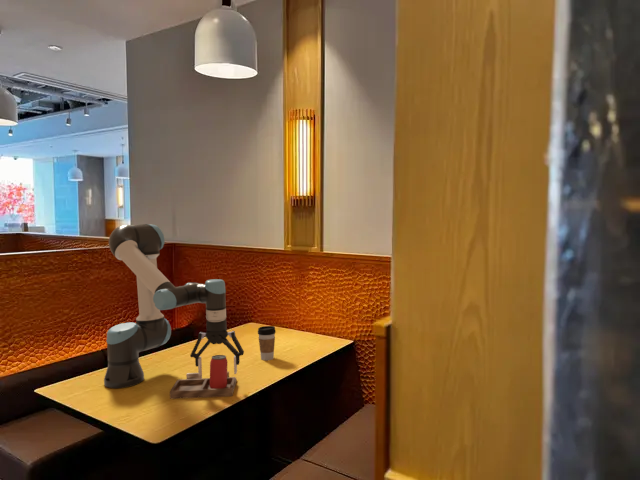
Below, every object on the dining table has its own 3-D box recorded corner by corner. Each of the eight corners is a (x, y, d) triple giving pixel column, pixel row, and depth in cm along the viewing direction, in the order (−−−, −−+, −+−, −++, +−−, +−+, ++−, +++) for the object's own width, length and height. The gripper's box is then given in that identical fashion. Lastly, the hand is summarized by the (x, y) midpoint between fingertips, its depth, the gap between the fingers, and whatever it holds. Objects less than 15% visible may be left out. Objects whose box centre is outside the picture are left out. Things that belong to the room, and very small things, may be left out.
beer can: (209, 385, 176) (210, 354, 176) (226, 384, 178) (227, 354, 178) (209, 390, 170) (210, 359, 170) (227, 389, 172) (227, 358, 172)
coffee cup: (273, 361, 206) (272, 329, 205) (255, 360, 208) (254, 329, 207) (278, 356, 215) (277, 325, 214) (261, 355, 216) (260, 324, 215)
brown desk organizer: (170, 398, 167) (169, 388, 167) (179, 383, 182) (179, 373, 182) (232, 396, 169) (231, 385, 168) (236, 380, 184) (236, 371, 184)
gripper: (181, 323, 168) (183, 378, 169) (248, 321, 170) (249, 375, 171) (185, 318, 175) (187, 371, 176) (249, 316, 177) (251, 368, 178)
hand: (218, 373), depth 174 cm, fingers open, 13 cm apart
